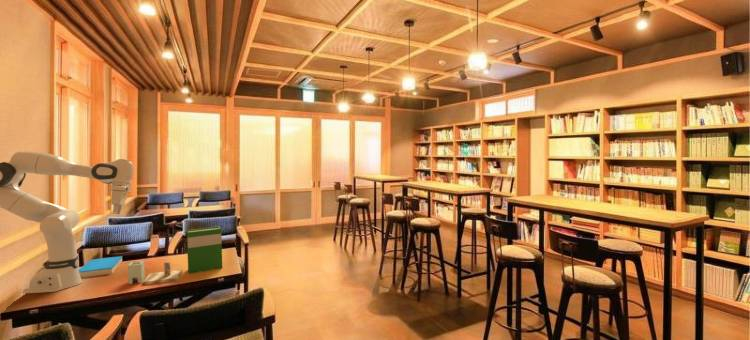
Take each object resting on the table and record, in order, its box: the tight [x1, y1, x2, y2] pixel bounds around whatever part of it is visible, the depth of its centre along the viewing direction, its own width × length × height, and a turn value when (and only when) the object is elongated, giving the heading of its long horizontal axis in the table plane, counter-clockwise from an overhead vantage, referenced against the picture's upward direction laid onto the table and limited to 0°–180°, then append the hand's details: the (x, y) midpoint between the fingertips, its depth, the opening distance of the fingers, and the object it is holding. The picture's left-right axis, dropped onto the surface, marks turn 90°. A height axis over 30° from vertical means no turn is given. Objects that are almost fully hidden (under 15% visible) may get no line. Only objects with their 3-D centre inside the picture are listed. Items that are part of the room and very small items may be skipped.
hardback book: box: [186, 226, 223, 275], centre depth 201 cm, size 18×7×24 cm, turn 122°
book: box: [78, 255, 123, 279], centre depth 202 cm, size 17×4×25 cm
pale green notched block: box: [127, 260, 146, 285], centre depth 182 cm, size 6×6×10 cm
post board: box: [142, 261, 183, 286], centre depth 187 cm, size 16×14×8 cm
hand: (116, 213), depth 184 cm, fingers open, 8 cm apart
